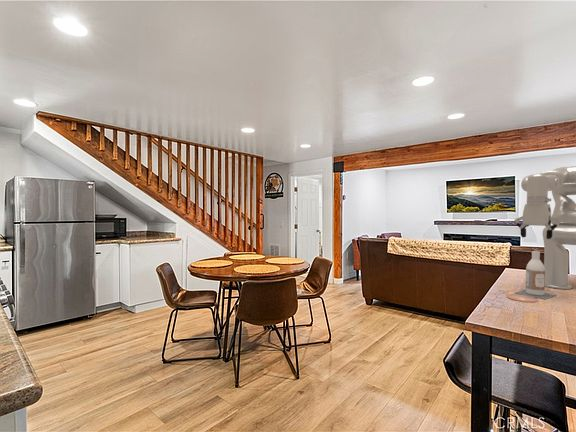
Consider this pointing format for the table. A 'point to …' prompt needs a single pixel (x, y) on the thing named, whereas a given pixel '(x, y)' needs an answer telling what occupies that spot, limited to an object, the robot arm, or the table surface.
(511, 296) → the flat salmon disc
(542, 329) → the table surface
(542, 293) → the bath foam
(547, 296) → the tile
